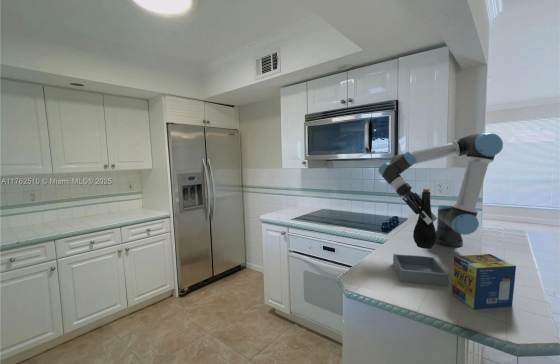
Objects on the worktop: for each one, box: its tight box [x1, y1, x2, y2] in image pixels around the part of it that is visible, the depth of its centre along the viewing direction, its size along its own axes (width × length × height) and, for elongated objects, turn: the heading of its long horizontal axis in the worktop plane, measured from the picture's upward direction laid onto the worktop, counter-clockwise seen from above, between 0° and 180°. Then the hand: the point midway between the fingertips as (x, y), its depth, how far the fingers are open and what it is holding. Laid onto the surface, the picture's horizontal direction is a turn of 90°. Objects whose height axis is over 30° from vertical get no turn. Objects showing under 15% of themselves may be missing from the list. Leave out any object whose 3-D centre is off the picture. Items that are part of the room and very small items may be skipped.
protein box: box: [451, 253, 517, 310], centre depth 95 cm, size 10×15×16 cm
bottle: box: [412, 188, 437, 250], centre depth 133 cm, size 11×11×30 cm
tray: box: [392, 253, 449, 287], centre depth 117 cm, size 18×18×5 cm
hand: (432, 221), depth 130 cm, fingers closed on bottle, 6 cm apart
